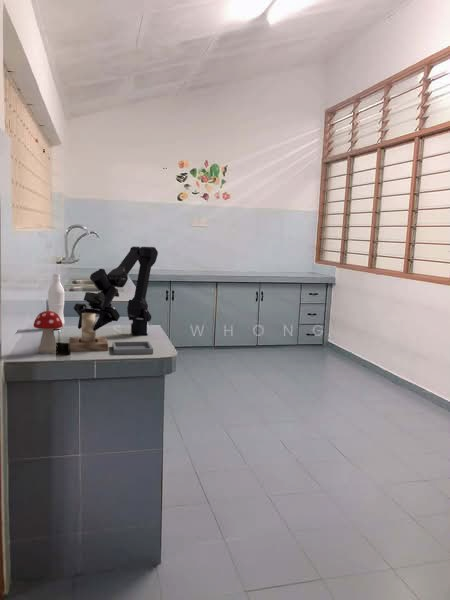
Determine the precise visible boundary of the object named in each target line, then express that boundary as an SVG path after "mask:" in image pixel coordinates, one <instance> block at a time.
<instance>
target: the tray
mask: <svg viewBox="0 0 450 600" xmlns="http://www.w3.org/2000/svg"><path fill="white" fill-rule="evenodd" d="M111 347H112V351H113V355H118V356H119V355H120V356H121V355H122V356H123V355H154V348H153V346H152V344H151V342H150V341H112V345H111Z"/></svg>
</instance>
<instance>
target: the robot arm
mask: <svg viewBox="0 0 450 600" xmlns="http://www.w3.org/2000/svg"><path fill="white" fill-rule="evenodd" d="M158 255H159V252H158V249H157V248H156V247H154V246H131V247H130V249H129V252H128V253H127V254H126V256H124V258H123V259H122V261H121V262H120V264H119V265H118V266H116V267H115V268H113V269H111V270H110V272H108V273H107V271H106V270H105V269H104V268H98V270H96V271H94V272H92V273H91V274H90V276H89V279H90V281H91V282H92V284H93V285H94V287H95V288H96V289H97V290H98V291H97V293H96V292H90V291H86V292H85V294H84V296H83V297H84V298H83V301H85V302H87V303H88V306H89V307H88V306H87V304H85V303H79V302H78V303H75V304H74V305H73V310H74V311H75V313H77V315H78V317H79V318H78V325H77V328H78V329H79V330H81V329H82V313H96V315H99V316H98V318H97V321H95V325H94V328H93V330H94V331H95V332H96V331H98V330H99V329H101V328H103V326H106V325H107V324H109V323H112V322H118V321H119V319H120V316H121V315H120V313H119V312H118V310H117V309H116V307H114V306H112V301H113V299H114V298H115V297H116V298H117V297H118V298H119V297H120V293H119V290H118V289H117V288H124V287H125V286H126V284H127V282H128V280H129V278H128V275H129V273H130V272H131V271H132V269H133V267H134V266H135V264H136V263H138V264H139V267H138V268H139V269H138V273H137V280H136V286H135V289H134V296H133V298H132V299H129V300H128V302H127V303H128V304H127V307H126V309H127V310H126V311H127V317H128V320H129V321H131V323H130V334H133V335H132V336H148V334H149V333H148V323H149V322H151V320H152V315H151V313H150V311H149V310H148V307H149V305H148V302H147V299H146V298H147V292H148V288H149V287H148V286H149V282H150V281H149V280H150V275H151V270H152V267H153V266H154V265H155V264H156V261H157V258H158Z"/></svg>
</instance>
